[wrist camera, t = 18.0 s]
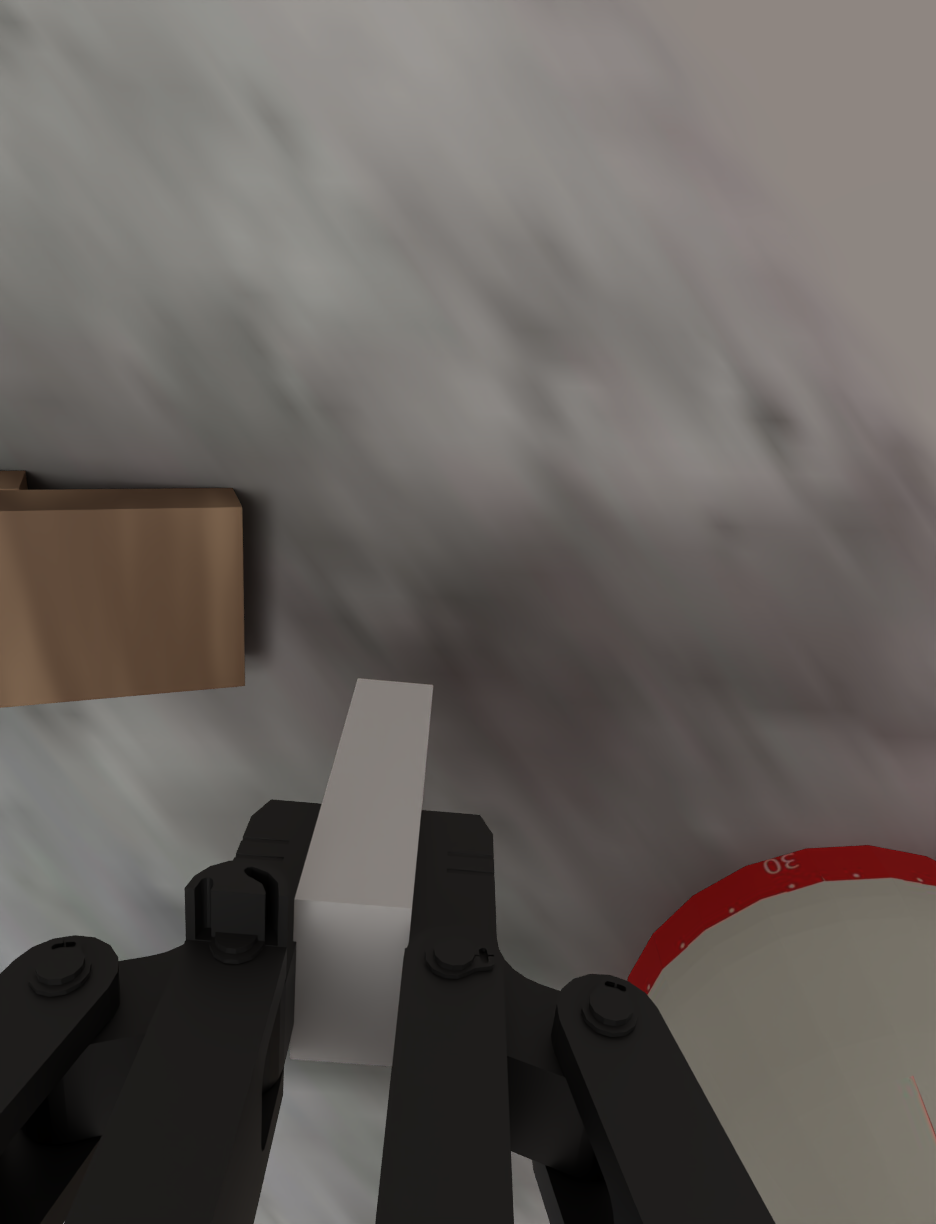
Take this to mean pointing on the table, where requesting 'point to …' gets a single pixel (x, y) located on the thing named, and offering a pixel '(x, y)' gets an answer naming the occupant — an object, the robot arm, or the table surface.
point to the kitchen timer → (813, 1027)
